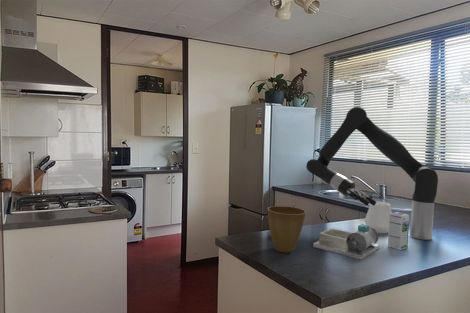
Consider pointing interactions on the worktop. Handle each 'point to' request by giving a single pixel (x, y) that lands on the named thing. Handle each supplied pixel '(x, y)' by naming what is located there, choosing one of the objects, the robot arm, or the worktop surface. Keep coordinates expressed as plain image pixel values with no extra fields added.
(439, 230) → the worktop surface
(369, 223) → the cup
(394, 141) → the robot arm
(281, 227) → the plant pot
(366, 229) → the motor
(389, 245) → the syrup box
